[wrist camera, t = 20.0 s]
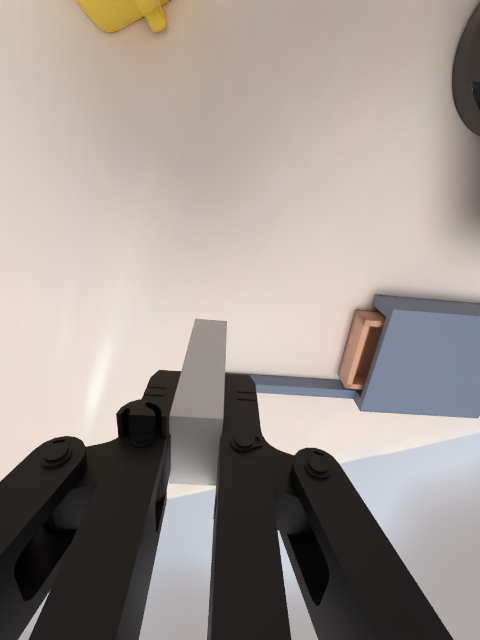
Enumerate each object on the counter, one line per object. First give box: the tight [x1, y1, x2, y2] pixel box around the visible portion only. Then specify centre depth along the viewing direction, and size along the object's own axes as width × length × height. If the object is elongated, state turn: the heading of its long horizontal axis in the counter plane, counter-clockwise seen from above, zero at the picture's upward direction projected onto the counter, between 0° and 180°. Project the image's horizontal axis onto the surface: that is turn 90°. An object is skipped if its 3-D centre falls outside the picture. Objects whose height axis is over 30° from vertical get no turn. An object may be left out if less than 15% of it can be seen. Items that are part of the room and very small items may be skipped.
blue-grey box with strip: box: [226, 295, 480, 418], centre depth 43 cm, size 16×40×5 cm, turn 85°
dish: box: [338, 310, 386, 389], centre depth 44 cm, size 11×16×4 cm
